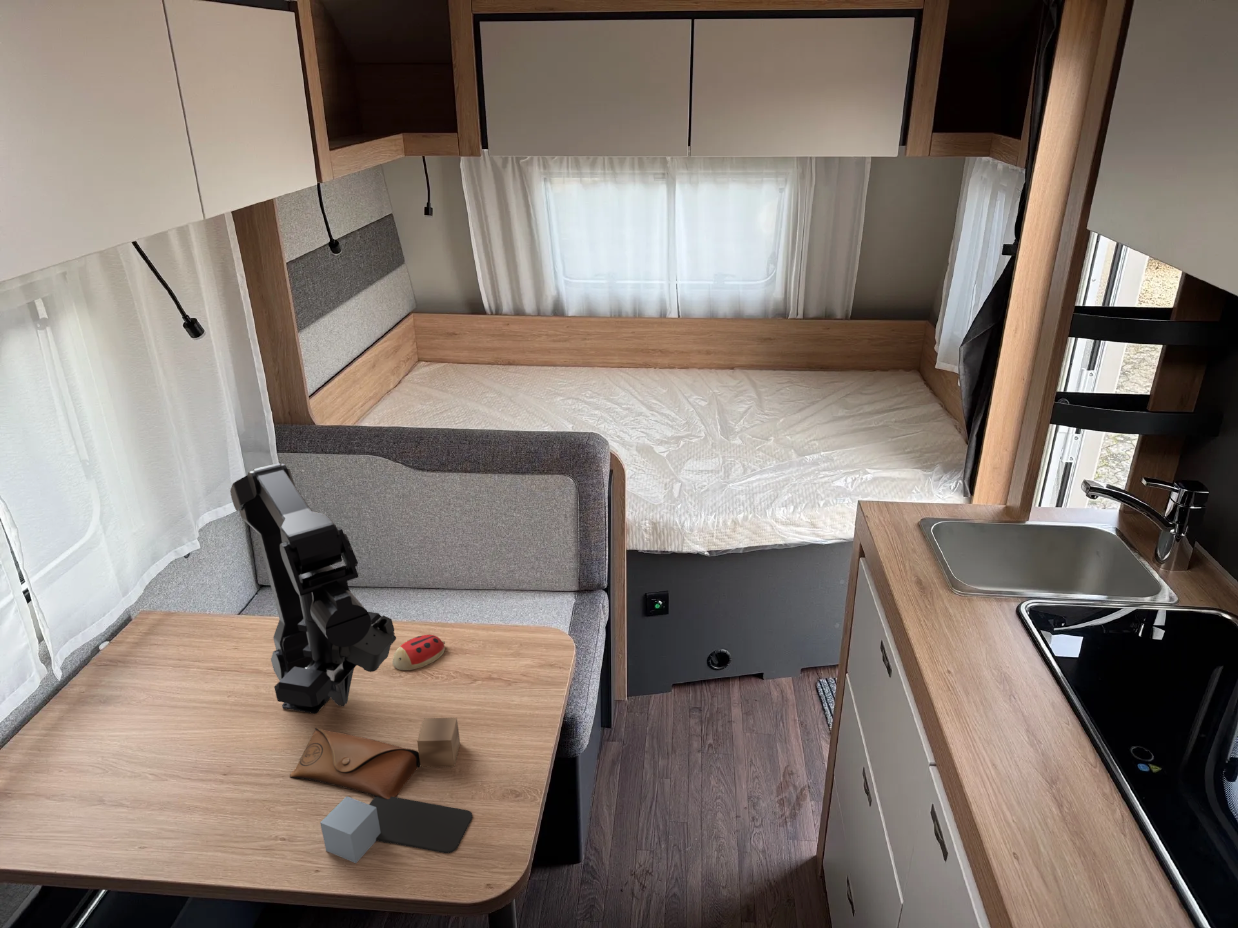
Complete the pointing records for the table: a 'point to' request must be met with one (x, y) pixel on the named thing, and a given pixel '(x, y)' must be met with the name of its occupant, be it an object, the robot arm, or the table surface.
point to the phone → (420, 824)
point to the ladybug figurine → (418, 652)
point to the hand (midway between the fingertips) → (342, 704)
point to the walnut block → (438, 742)
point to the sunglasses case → (357, 763)
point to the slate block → (350, 829)
